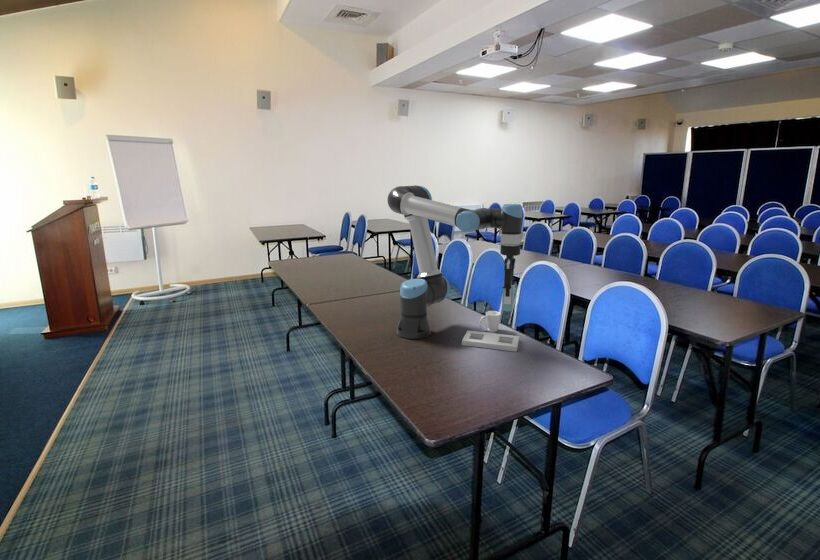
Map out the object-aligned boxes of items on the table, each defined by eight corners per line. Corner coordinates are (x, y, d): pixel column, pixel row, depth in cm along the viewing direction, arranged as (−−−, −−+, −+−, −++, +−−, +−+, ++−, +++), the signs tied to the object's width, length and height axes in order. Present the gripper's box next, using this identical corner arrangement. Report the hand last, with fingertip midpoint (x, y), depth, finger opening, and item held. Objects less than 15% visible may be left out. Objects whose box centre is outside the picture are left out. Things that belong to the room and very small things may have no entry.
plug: (501, 310, 167) (503, 282, 164) (503, 307, 171) (504, 280, 168) (512, 311, 166) (513, 283, 163) (513, 308, 169) (514, 280, 167)
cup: (503, 331, 186) (504, 314, 184) (482, 334, 183) (483, 316, 181) (495, 326, 193) (496, 309, 191) (475, 329, 190) (476, 312, 188)
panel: (461, 344, 172) (461, 340, 171) (467, 334, 183) (467, 330, 182) (516, 351, 165) (516, 346, 164) (519, 340, 176) (519, 336, 175)
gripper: (518, 248, 153) (515, 309, 158) (522, 241, 169) (519, 297, 174) (497, 247, 155) (495, 307, 161) (503, 241, 171) (501, 296, 177)
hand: (507, 302), depth 167 cm, fingers closed on plug, 4 cm apart
